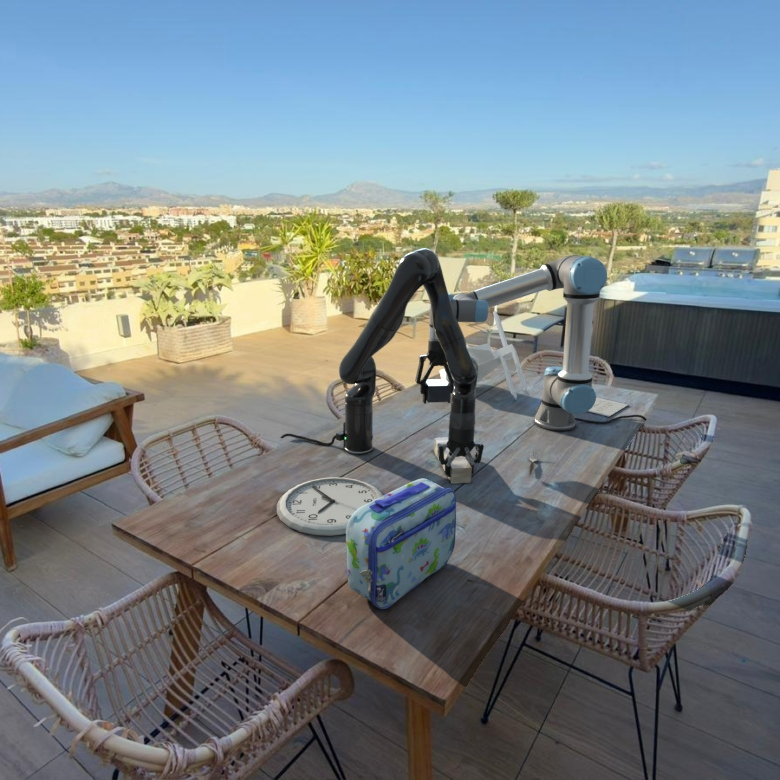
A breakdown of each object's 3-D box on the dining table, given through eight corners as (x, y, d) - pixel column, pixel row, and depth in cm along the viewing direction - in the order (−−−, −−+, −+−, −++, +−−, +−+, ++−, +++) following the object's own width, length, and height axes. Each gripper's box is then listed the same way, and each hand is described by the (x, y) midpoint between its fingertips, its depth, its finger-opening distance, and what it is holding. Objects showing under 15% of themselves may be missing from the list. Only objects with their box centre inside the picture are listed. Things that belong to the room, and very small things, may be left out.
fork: (525, 475, 162) (525, 469, 161) (530, 455, 176) (531, 449, 176) (534, 476, 161) (534, 470, 161) (538, 456, 175) (539, 450, 175)
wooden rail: (433, 451, 179) (434, 437, 177) (450, 450, 180) (451, 436, 178) (451, 483, 156) (452, 468, 155) (470, 482, 157) (472, 467, 155)
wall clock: (392, 527, 129) (268, 531, 127) (391, 533, 130) (269, 537, 127) (383, 473, 158) (282, 475, 155) (383, 478, 158) (282, 480, 156)
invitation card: (608, 416, 214) (573, 407, 224) (608, 416, 214) (573, 408, 224) (628, 404, 229) (594, 396, 238) (628, 405, 229) (594, 397, 238)
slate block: (423, 395, 188) (423, 379, 186) (444, 394, 189) (445, 379, 187) (427, 402, 180) (428, 386, 179) (450, 402, 182) (451, 385, 180)
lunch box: (375, 622, 100) (376, 527, 94) (339, 595, 108) (338, 505, 101) (459, 565, 118) (465, 481, 112) (424, 545, 125) (427, 465, 119)
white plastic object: (461, 429, 252) (437, 405, 227) (444, 352, 274) (420, 323, 250) (535, 404, 240) (518, 377, 215) (510, 326, 262) (492, 293, 237)
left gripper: (481, 418, 158) (477, 469, 163) (435, 420, 156) (432, 471, 161) (489, 427, 151) (485, 480, 156) (441, 429, 149) (438, 482, 154)
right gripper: (466, 336, 183) (462, 398, 190) (407, 337, 180) (405, 399, 187) (472, 341, 176) (467, 404, 183) (411, 341, 173) (409, 406, 180)
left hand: (458, 475), depth 159 cm, fingers closed on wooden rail, 6 cm apart
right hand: (436, 402), depth 185 cm, fingers closed on slate block, 8 cm apart
